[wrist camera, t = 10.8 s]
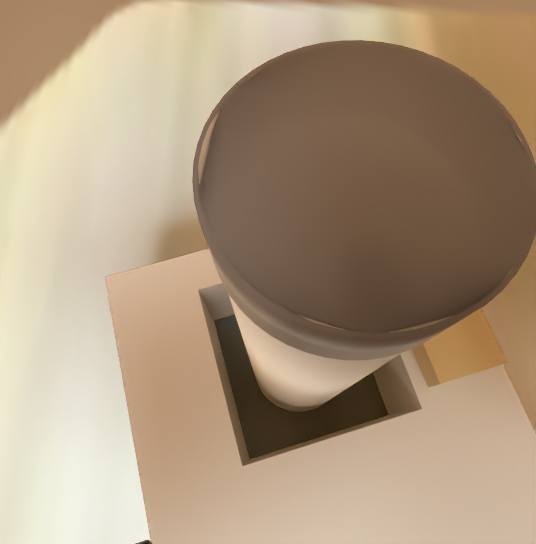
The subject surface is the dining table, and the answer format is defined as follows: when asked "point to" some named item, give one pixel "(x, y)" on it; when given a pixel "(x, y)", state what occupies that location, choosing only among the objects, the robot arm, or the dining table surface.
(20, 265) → the dining table surface
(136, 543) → the robot arm
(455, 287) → the plug
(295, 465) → the socket board
